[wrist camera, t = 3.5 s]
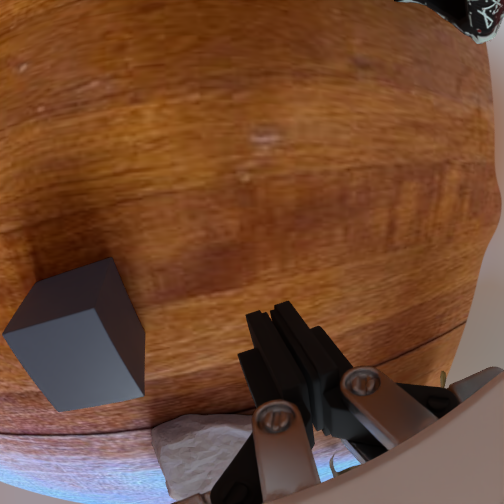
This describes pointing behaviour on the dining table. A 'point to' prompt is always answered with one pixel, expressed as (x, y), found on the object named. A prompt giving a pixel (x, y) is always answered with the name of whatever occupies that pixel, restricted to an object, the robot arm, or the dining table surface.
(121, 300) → the slate block
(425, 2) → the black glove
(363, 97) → the dining table surface
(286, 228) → the dining table surface
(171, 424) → the stone block
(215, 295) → the dining table surface
